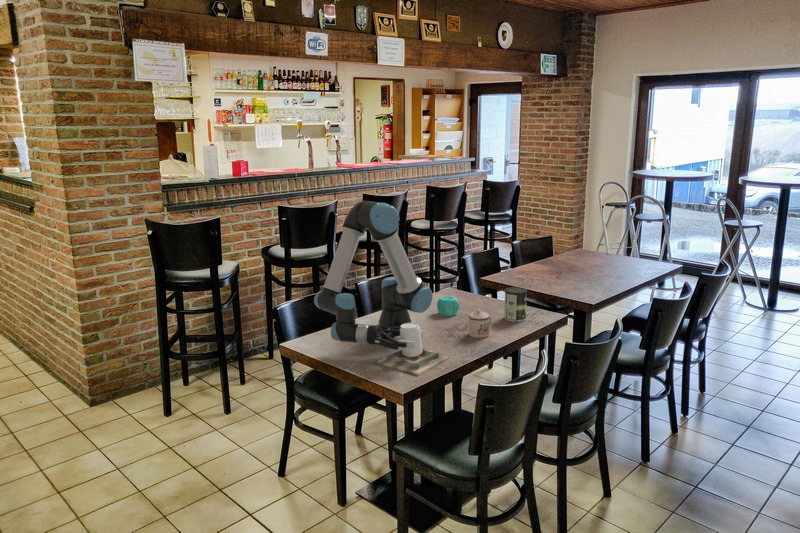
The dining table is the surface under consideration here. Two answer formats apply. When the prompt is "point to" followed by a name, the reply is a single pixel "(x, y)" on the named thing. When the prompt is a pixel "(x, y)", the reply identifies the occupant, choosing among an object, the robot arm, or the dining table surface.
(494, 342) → the dining table surface
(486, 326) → the teacup with lid
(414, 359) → the board
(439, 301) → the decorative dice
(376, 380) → the dining table surface
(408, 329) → the beverage can
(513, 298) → the coffee can
